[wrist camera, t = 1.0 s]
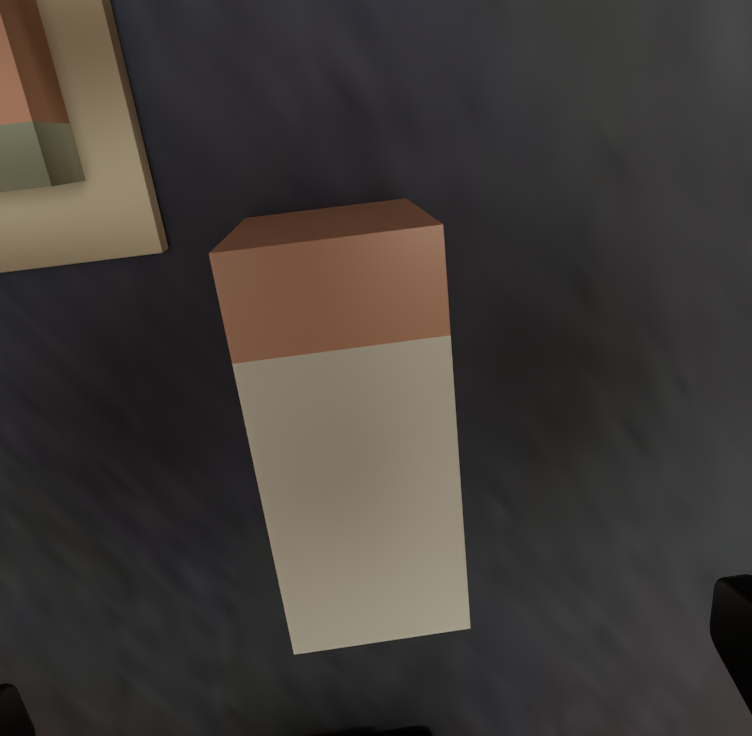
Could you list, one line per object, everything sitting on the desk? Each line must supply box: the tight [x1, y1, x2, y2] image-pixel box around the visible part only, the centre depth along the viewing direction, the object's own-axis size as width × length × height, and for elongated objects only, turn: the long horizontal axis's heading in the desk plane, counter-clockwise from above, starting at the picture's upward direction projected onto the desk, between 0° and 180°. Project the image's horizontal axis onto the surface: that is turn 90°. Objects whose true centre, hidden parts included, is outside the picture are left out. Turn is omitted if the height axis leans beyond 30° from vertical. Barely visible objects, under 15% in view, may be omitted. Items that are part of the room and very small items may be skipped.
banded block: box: [209, 198, 470, 655], centre depth 14 cm, size 9×4×5 cm, turn 6°
